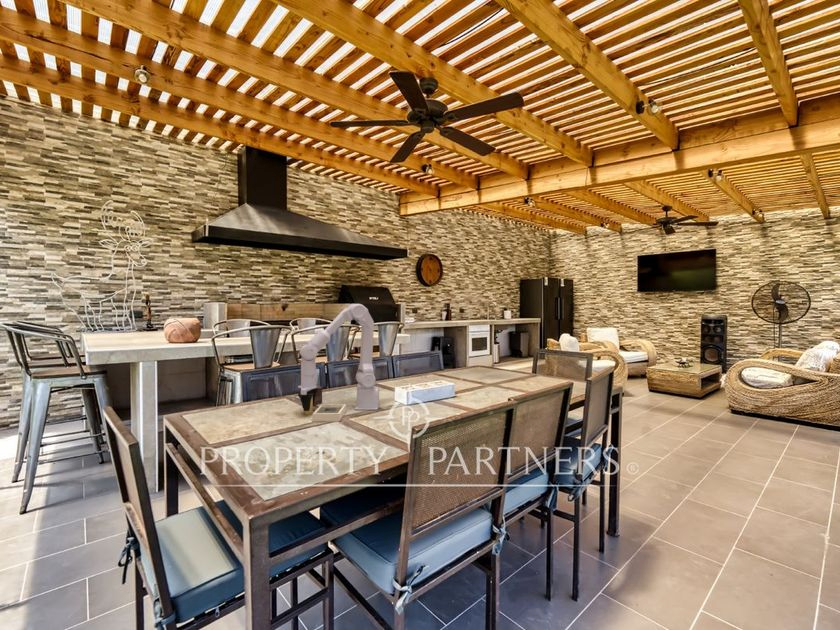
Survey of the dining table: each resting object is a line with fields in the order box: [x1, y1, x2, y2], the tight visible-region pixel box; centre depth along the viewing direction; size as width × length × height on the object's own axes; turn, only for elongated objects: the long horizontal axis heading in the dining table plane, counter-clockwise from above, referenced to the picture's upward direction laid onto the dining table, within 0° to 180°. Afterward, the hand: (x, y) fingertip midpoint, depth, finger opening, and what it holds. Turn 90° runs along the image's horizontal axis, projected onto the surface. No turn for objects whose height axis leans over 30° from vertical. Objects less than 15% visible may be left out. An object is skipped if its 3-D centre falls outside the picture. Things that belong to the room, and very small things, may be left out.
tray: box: [312, 403, 347, 423], centre depth 158 cm, size 10×14×3 cm
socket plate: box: [318, 407, 342, 413], centre depth 158 cm, size 8×8×2 cm
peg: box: [304, 396, 314, 415], centre depth 162 cm, size 3×3×7 cm
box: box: [313, 385, 323, 407], centre depth 177 cm, size 6×6×7 cm
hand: (308, 408), depth 162 cm, fingers open, 6 cm apart
